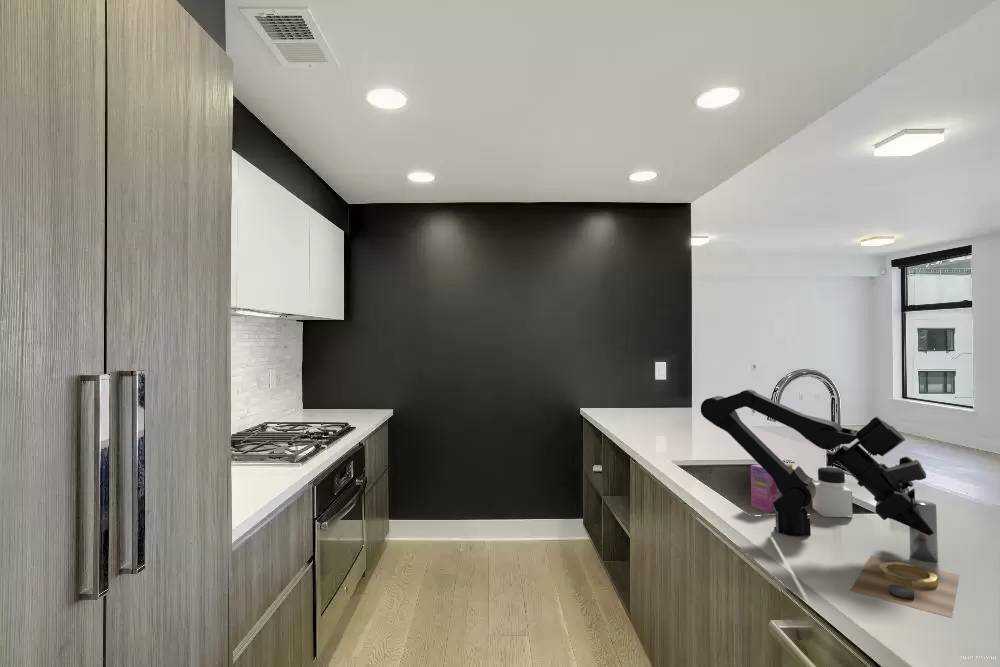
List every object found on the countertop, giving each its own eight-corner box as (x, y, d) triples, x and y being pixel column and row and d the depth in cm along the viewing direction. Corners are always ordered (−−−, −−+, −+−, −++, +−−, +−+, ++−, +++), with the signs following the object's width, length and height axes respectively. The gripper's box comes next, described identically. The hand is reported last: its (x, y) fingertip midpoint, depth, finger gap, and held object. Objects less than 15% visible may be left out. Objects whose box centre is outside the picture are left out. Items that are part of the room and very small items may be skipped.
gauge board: (951, 622, 85) (951, 611, 85) (850, 594, 95) (849, 584, 95) (959, 579, 100) (959, 569, 100) (871, 559, 110) (870, 550, 110)
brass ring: (891, 585, 97) (891, 578, 97) (873, 566, 105) (873, 560, 105) (946, 591, 94) (946, 584, 94) (923, 571, 102) (923, 564, 102)
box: (769, 513, 140) (768, 468, 140) (750, 507, 145) (749, 464, 146) (794, 506, 145) (792, 464, 145) (774, 501, 150) (773, 460, 150)
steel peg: (916, 564, 107) (914, 505, 107) (906, 555, 111) (904, 499, 112) (942, 566, 106) (940, 507, 106) (931, 558, 110) (929, 500, 110)
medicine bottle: (853, 518, 135) (852, 471, 135) (822, 517, 136) (821, 470, 137) (841, 509, 142) (839, 465, 142) (812, 508, 143) (811, 464, 144)
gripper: (894, 454, 104) (970, 521, 97) (899, 439, 119) (965, 497, 111) (848, 487, 109) (917, 553, 102) (858, 469, 124) (919, 526, 116)
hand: (931, 530), depth 108 cm, fingers closed on steel peg, 4 cm apart
